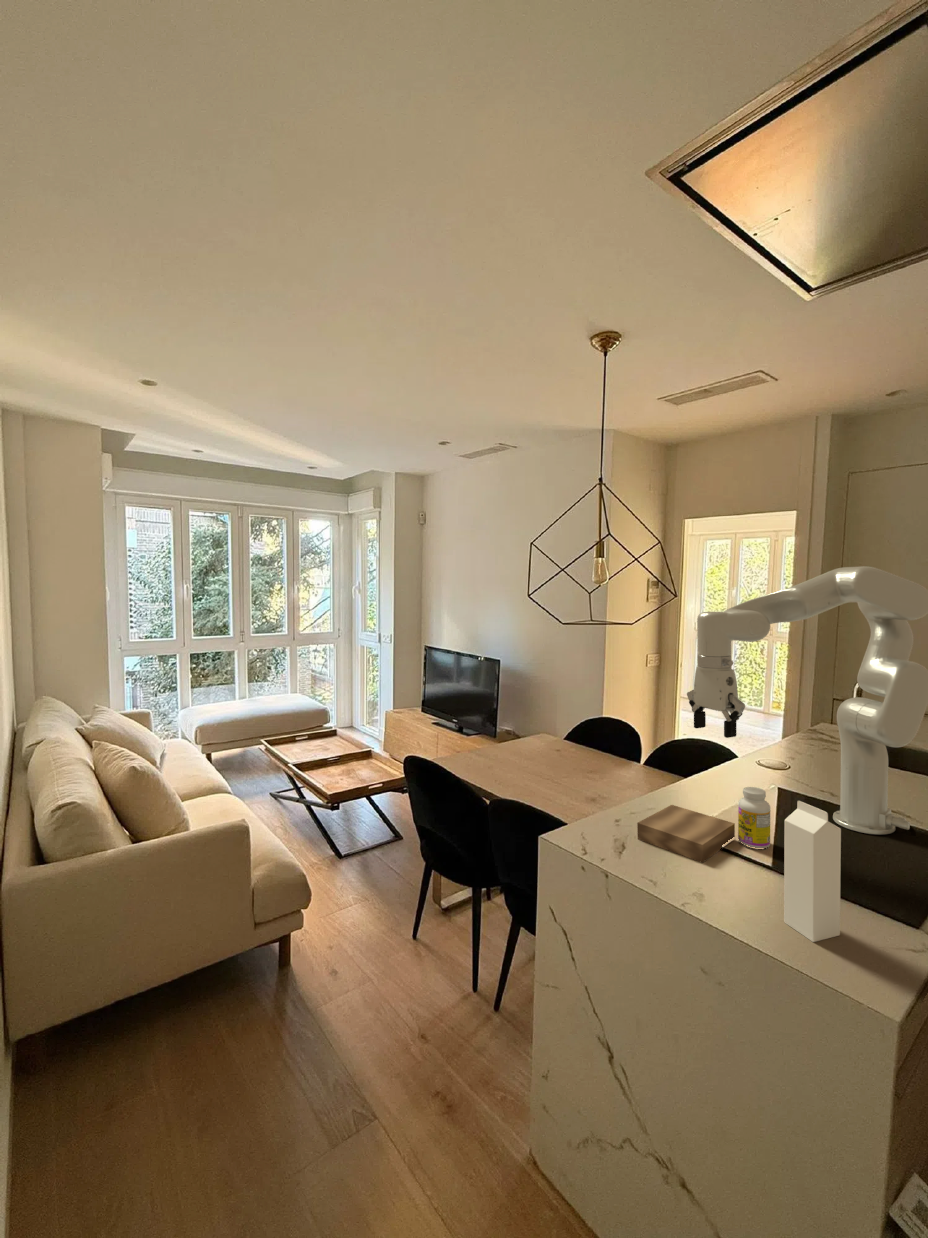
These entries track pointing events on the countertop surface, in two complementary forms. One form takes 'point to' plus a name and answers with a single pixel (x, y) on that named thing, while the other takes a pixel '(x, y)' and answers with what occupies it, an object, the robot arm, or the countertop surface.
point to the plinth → (686, 832)
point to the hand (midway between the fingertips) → (714, 732)
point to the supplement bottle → (754, 818)
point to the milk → (812, 873)
